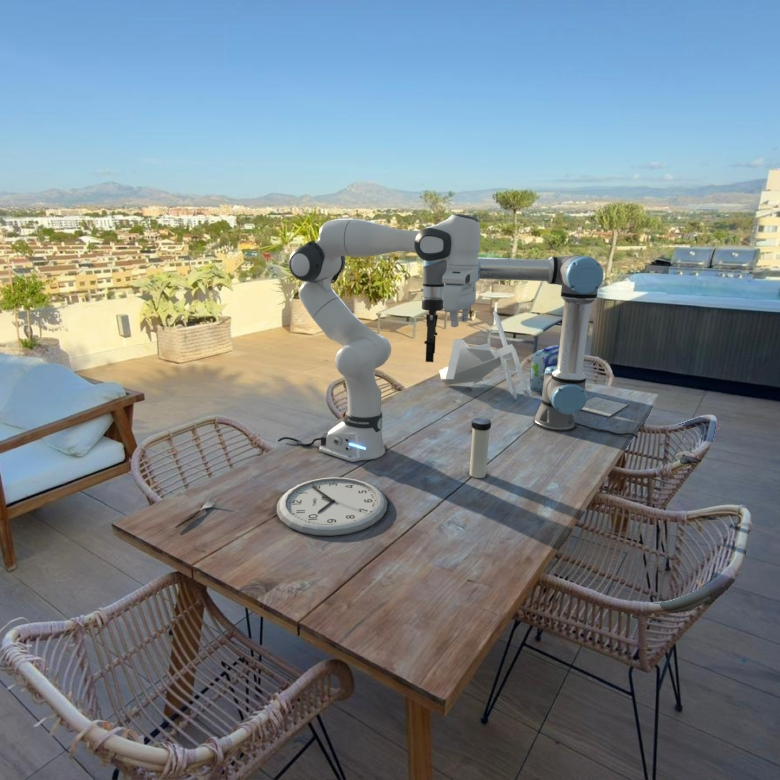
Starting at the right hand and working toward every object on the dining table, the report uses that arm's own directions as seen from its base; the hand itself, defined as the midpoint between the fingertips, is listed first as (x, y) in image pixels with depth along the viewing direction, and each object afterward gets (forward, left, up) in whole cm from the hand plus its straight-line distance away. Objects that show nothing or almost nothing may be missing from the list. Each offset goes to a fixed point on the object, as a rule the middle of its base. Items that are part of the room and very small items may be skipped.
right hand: (430, 357), depth 190 cm
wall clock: (+23, +61, -28) cm, 71 cm away
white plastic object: (-22, -50, -28) cm, 61 cm away
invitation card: (-73, -38, -28) cm, 87 cm away
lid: (-17, +36, -11) cm, 41 cm away
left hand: (-9, +34, +18) cm, 40 cm away
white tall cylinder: (-17, +36, -28) cm, 49 cm away
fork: (+57, +71, -28) cm, 95 cm away
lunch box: (-55, -59, -28) cm, 86 cm away
